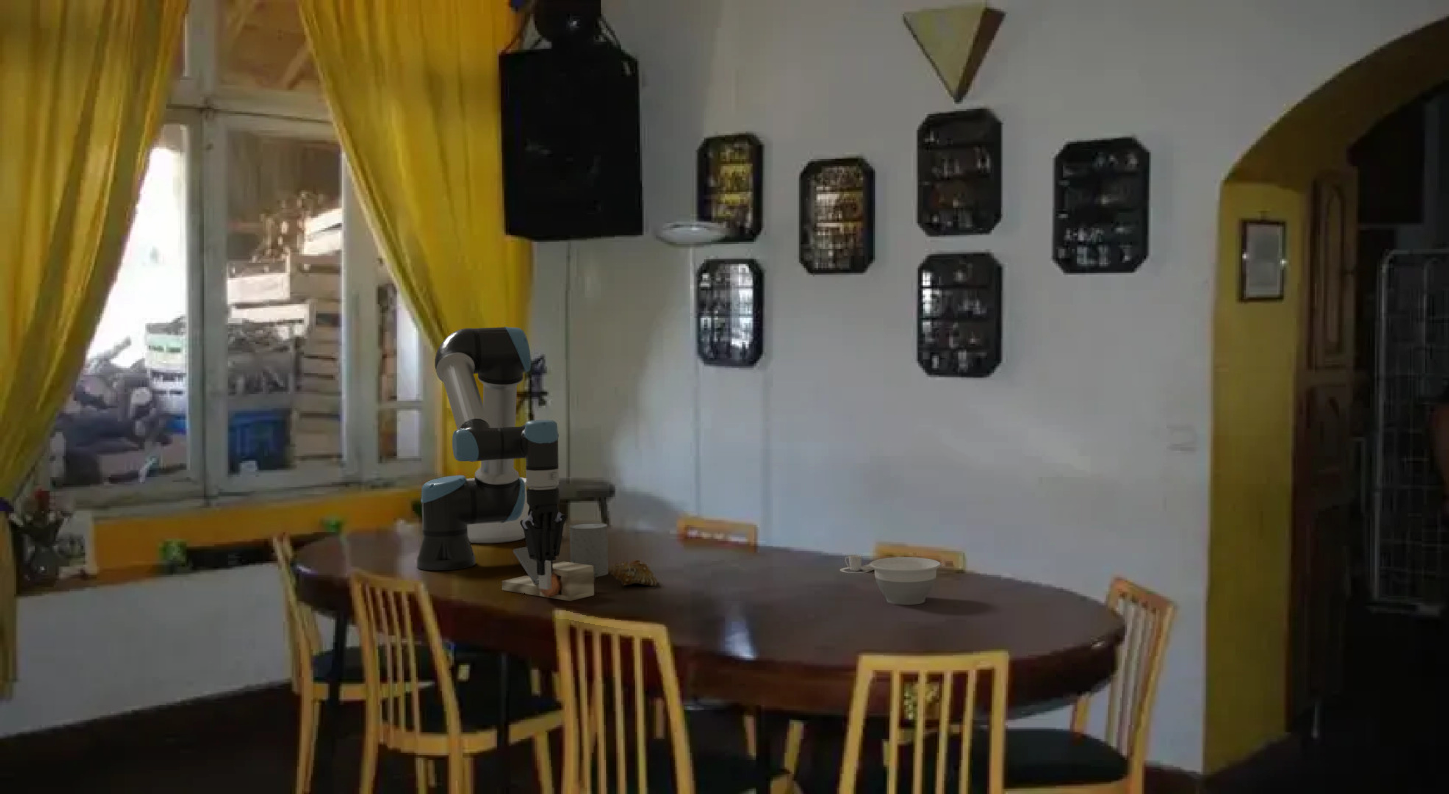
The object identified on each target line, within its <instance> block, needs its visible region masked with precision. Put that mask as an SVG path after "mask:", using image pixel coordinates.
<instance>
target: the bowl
mask: <svg viewBox="0 0 1449 794" xmlns="http://www.w3.org/2000/svg"><path fill="white" fill-rule="evenodd" d="M869 564H870V566H871V567H873V568H874V570H873V571H874V578H875V582H876V584H877V585H878V588H879V590H880V592H881V593H882V594H883V596H884V597H885V599H886V602H887V603H889V604H893V605H900V606H901V605H902V606H903V605H905V606H907V605H908V606H909V605H911V606H912V605H920V604H923V603H925V602H926V598H927V596H928V595H929V594H930V592H931V591H932V589H933V587H934V585H935V582H936V578H937V569H938V568H940V567H941V566H942V564H941V562H939V561H938V560H936V559H932V558H925V557H924V558H923V557H916V556H915V557H912V556H911V557H910V556H909V557H908V556H907V557H906V556H903V557H902V556H897V557H887V558H886V557H885V558H884V557H883V558H879V559H875V560H873V561H870V562H869Z"/></svg>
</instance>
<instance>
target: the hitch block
mask: <svg viewBox="0 0 1449 794" xmlns="http://www.w3.org/2000/svg"><path fill="white" fill-rule="evenodd" d="M551 574H556V575H557V576H561V584H562V589H561V592H560V593H559V594H558V595H556V596H552V597H546V596H545V595H543V593H542V592H541V589H540V588H539V584H538V585H534V584H533V581H532V580H531V578H530V577H529V575H523V576H519V577H513V578H510V579H505V580H501V589H502V591H506V592H510V593H511V592H513V593H518V594H524V593H525V595H531V596H538V597H543V598H549V599H555V600H562V601H569V602H571V601H575V600H579V599H584V598H587V597H592V596H595V585H594V583H595V581H594V574H593V566H592V565H585V564H578V563H571V561H570V562H569V561H559V562H554V563H553V572H552V573H551Z"/></svg>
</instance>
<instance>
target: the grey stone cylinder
mask: <svg viewBox="0 0 1449 794" xmlns="http://www.w3.org/2000/svg"><path fill="white" fill-rule="evenodd" d="M568 528H569V543H570V545H569V546H570V547H569V548H570V549H569V550H570V551H569V553H570V562H571V563H578V564H585V565H592V566H593V572H594V573H595V578H597V577H603V576H606V575H609V571H608V567H609V562H608V559H609V558H608V557H609V556H608V530H607V529H608V524H606V523H604V522H603V523H601V522H582V523H581V522H580V523H573V524H571V525H569V526H568Z"/></svg>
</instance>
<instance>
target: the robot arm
mask: <svg viewBox="0 0 1449 794" xmlns="http://www.w3.org/2000/svg"><path fill="white" fill-rule="evenodd" d="M531 367H532V357H531V350H530V345H529V341H528V338H527V335H526V333H525V331H524V330H523V329H522V328H520V327H509V326H501V327H500V326H499V327H498V326H497V327H479V328H478V327H477V328H475V327H474V328H472V327H466V328H461V329H458V330H456V331H453V332H452V333H450V334H449V335H448V336H447V337H446V338H445V339H444V340H443V341H442V342H441V343H440V345H439V347H438V348H437V351H436V353H435V358H434V368H435V372H436V376H437V378H438V379H439V380H440V381H441V382H442V383H443V386H444V389H445V392H446V395H447V400H448V403H449V406H450V409H451V412H452V416H453V419H454V422H455V426H456V429H455V430H454V431H453V433H452V440H451V444H452V451H453V452H452V453H453V457H454V459H455V460H456V461H458V462H470V463H471V462H480V467H479V468H477V470H476V471H475V472H474V478H475V480H472V481H467V479H468V478H466V476H465V475H461V474H460V475H459V474H458V475H448V476H444V477H443V476H442V477H438V478H435V479H431V480H428V481H427V482H425V483H424V484H423V485H422V487H421V499H420V502H421V515H422V516H421V517H422V518H421V519H422V540H421V543H420V548H419V552H418V556H417V558H416V567H417V569H419V570H427V571H450V570H451V571H452V570H453V571H454V570H460V569H467V568H471V567H473V566H474V565H476V556H475V553H474V550H473V546H472V543H470V541H469V538H468V531H467V525H469V524H483V523H498V522H501V523H504V522H507V521H514V520H517V519H518V518H519V517H520V516H521V514H522V511H523V508H524V503H525V484H524V481H523V479H522V478H523V477H520V474H519V472H518V470H516V469H515V468H514V465H515V464H514V463H515V459H525V478H526V487H528V488H526V493H527V504H528V505H529V511H528V517H527V518H526V519H525V520H521V521H520V524H521V526H522V528H523V530H524V535H525V538H524V539H525V542H526V543H525V544H526V547H527V549H528V553H529V558H530V559H533V560H535V561H536V562H537V575H539V588H540V589H546V590H548V589H552V586H551V573H552V572H553V564H554V563H553V562H554V561H556V560H557V557H559V556H560V553H561V545H562V538H563V532H564V525H565V522H566V520H567V517H568V516H567V514H564V513H561V512H560V508H559V507H558V504H559V503H560V488H559V487H558V486H559V485H560V474H559V473H560V472H559V471H560V470H559V469H560V468H559V467H560V466H559V436H560V435H559V431H558V429H559V428H558V423H557V421H555V420H552V419H550V420H549V419H536V420H535V419H533V420H529V421H527V422H525V424H524V425H521V426H516V418H517V417H516V415H517V391H518V389H517V387H518V385H519V384H521V383H522V382H523V380H524V373H525V374H526V373H529V372H530V371H531ZM474 374H477V379H478V380H479V382H480V383H482V385H483V392H482V396H483V398H481V395H480V392H479V388H478V385H477V381H476V378H475V375H474Z"/></svg>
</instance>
